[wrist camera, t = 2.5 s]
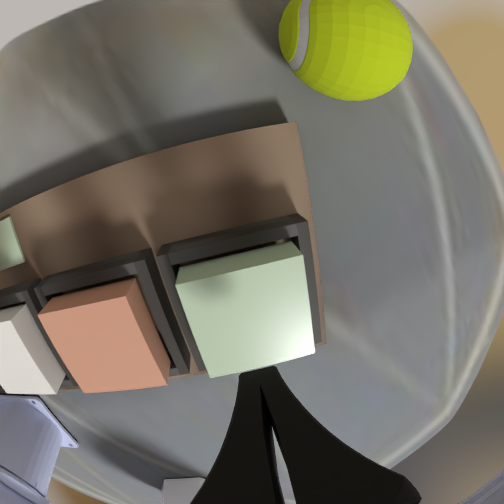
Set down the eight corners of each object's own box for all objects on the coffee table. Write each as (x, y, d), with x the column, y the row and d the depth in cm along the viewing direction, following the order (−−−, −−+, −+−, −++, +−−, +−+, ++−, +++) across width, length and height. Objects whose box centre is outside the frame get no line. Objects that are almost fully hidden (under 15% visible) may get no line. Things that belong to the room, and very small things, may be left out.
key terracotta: (92, 372, 16) (84, 393, 14) (52, 297, 14) (37, 314, 12) (170, 361, 16) (167, 385, 14) (135, 277, 14) (125, 296, 12)
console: (34, 379, 19) (21, 403, 16) (-36, 233, 14) (-61, 247, 11) (319, 331, 20) (335, 359, 17) (289, 123, 15) (307, 118, 12)
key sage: (209, 354, 16) (210, 378, 14) (179, 267, 14) (175, 284, 12) (304, 331, 16) (315, 352, 15) (291, 240, 14) (303, 254, 13)
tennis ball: (265, 5, 13) (292, -56, 6) (366, 21, 13) (426, -16, 7) (269, 105, 15) (305, 78, 9) (375, 113, 16) (447, 104, 9)
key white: (16, 376, 15) (6, 393, 13) (-20, 314, 13) (-34, 329, 11) (66, 374, 16) (56, 394, 14) (26, 303, 14) (10, 320, 12)
